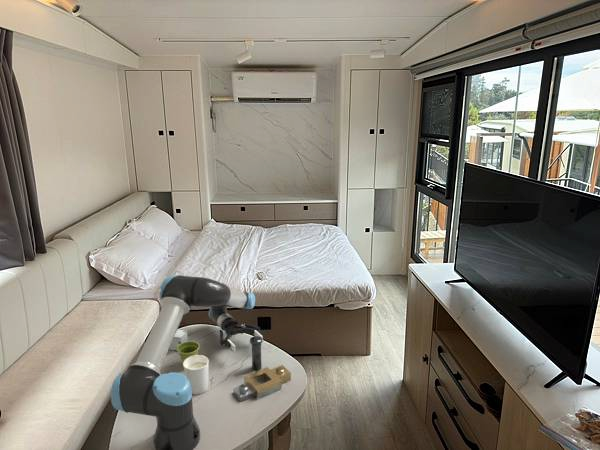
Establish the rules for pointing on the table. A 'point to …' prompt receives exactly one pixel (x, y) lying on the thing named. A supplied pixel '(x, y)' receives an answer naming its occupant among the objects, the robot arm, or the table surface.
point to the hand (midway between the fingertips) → (248, 344)
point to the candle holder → (197, 373)
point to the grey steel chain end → (247, 392)
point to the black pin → (256, 352)
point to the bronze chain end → (274, 376)
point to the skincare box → (178, 339)
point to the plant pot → (187, 350)
